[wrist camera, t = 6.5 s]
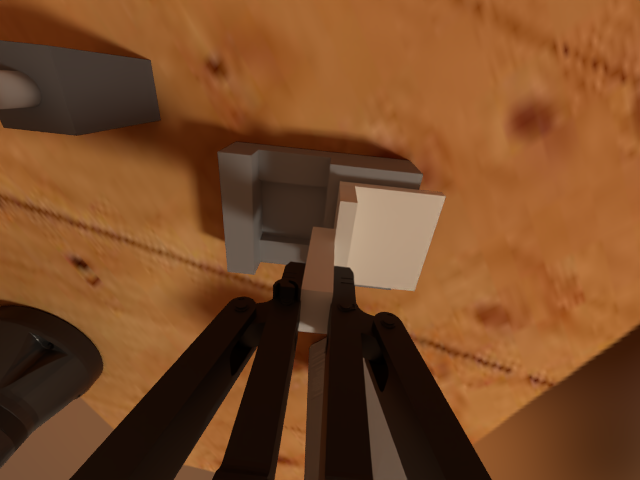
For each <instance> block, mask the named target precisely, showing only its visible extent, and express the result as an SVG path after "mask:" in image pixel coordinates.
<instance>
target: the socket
mask: <svg viewBox="0 0 640 480" xmlns="http://www.w3.org/2000/svg"><path fill="white" fill-rule="evenodd" d="M218 163H219V174H220V186H221V198H222V210H223V222H224V234H225V246H226V258H227V270H228V272H235V273H244V274H253V275H254V274H255V272H256V270H257V268H258V266H259V263H260V262H267V263H276V264H285V265H287V264H288V263H289V262H290V261H291V262H300V263H306V261H307V256H308V251H309V245H310V240H311V235H312V229H313V227H321V228H330V229H334V223H335V215H336V208H337V200H338V192H339V185H340V181H343V182H353V183H362V184H371V185H380V186H389V187H398V188H407V189H416V190H419V187H420V184H421V180H422V177H423V174H422V173H421V172H420V171H419V170H418V169H417V167H416V166H415V165H414V164H413V163H412V162H411V161H409V160H400V159H391V158H382V157H372V156H363V155H354V154H345V153H336V152H327V151H317V150H308V149H299V148H290V147H281V146H272V145H262V144H253V143H244V142H235V143H233V144H231V145H229V146H228V147H226V148H224V149H222V150H220V151H218ZM354 285H355V284H354ZM355 286H360V287H369V288H377V289H386V290H391V288H382V287H373V286H364V285H355Z"/></svg>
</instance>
